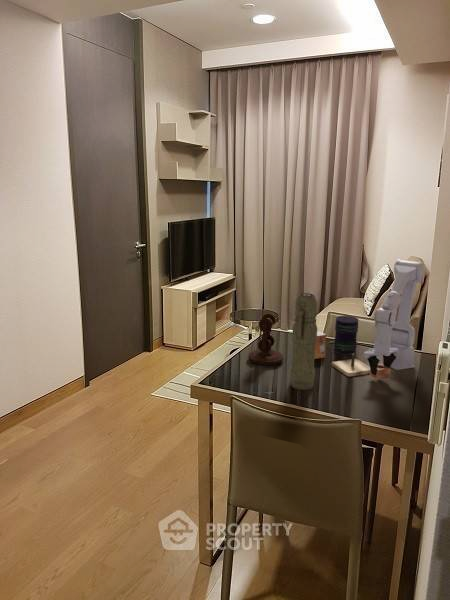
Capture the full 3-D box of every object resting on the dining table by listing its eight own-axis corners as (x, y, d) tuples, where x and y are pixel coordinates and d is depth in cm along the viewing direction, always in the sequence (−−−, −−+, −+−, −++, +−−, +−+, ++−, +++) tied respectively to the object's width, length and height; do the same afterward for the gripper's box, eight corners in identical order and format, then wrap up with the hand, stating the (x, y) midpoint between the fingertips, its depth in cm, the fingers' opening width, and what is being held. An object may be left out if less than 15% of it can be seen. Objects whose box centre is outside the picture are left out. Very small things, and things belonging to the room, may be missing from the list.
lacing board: (356, 361, 198) (357, 347, 196) (373, 372, 187) (375, 357, 185) (331, 365, 194) (332, 350, 192) (348, 376, 183) (349, 361, 182)
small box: (310, 360, 199) (311, 337, 197) (302, 356, 204) (303, 333, 201) (325, 357, 203) (326, 334, 200) (317, 353, 208) (318, 330, 205)
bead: (380, 373, 182) (381, 363, 181) (388, 378, 178) (389, 368, 177) (369, 374, 181) (370, 365, 180) (377, 379, 176) (378, 370, 175)
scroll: (252, 353, 207) (253, 309, 202) (285, 356, 203) (287, 312, 198) (244, 365, 193) (245, 319, 188) (279, 369, 189) (281, 322, 184)
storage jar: (358, 354, 206) (361, 322, 202) (336, 354, 206) (338, 322, 202) (352, 346, 216) (355, 315, 212) (331, 346, 216) (333, 315, 212)
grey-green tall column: (285, 389, 172) (290, 297, 163) (294, 377, 182) (298, 290, 173) (309, 393, 168) (315, 300, 160) (317, 381, 179) (322, 292, 170)
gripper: (373, 345, 169) (370, 379, 173) (405, 340, 174) (402, 374, 178) (361, 338, 176) (358, 372, 179) (393, 334, 181) (389, 367, 184)
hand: (379, 373), depth 179 cm, fingers closed on bead, 5 cm apart
